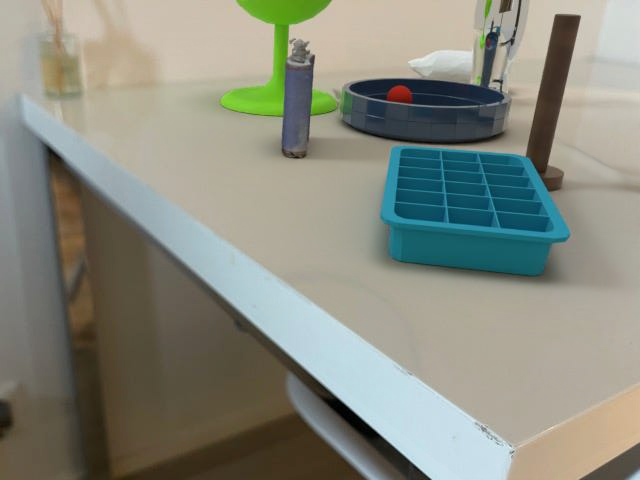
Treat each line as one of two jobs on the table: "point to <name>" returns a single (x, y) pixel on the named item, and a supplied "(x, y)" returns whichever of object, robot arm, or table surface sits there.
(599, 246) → the table surface
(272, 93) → the wineglass
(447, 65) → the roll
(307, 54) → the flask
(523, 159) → the ice cube tray
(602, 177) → the table surface
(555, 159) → the table surface
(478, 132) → the bowl
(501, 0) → the beer glass
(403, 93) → the cherry tomato
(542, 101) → the wooden towel stand
